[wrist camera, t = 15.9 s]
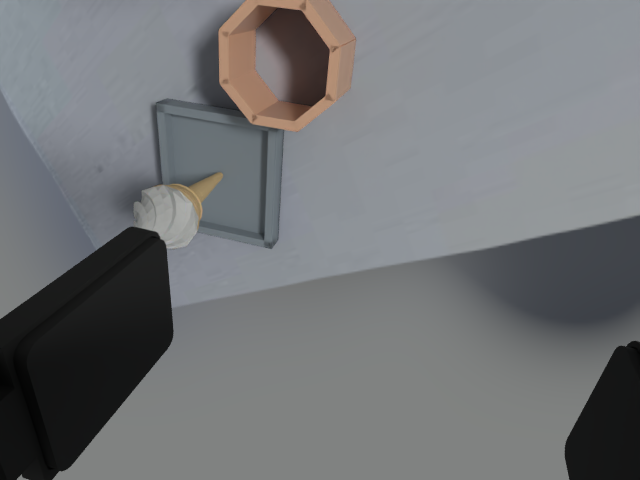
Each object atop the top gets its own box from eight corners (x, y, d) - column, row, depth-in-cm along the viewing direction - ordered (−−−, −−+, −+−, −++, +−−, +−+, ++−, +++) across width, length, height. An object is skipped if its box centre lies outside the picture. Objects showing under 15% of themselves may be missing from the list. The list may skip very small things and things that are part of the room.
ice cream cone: (206, 202, 49) (116, 280, 36) (187, 150, 47) (84, 214, 34) (253, 196, 47) (176, 276, 34) (237, 142, 45) (148, 207, 32)
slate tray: (167, 98, 46) (155, 102, 44) (284, 118, 43) (277, 123, 42) (175, 217, 52) (166, 225, 50) (278, 240, 50) (271, 248, 48)
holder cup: (247, -13, 39) (217, -13, 34) (360, 0, 37) (345, 2, 32) (246, 104, 44) (220, 118, 39) (346, 120, 42) (331, 137, 37)
